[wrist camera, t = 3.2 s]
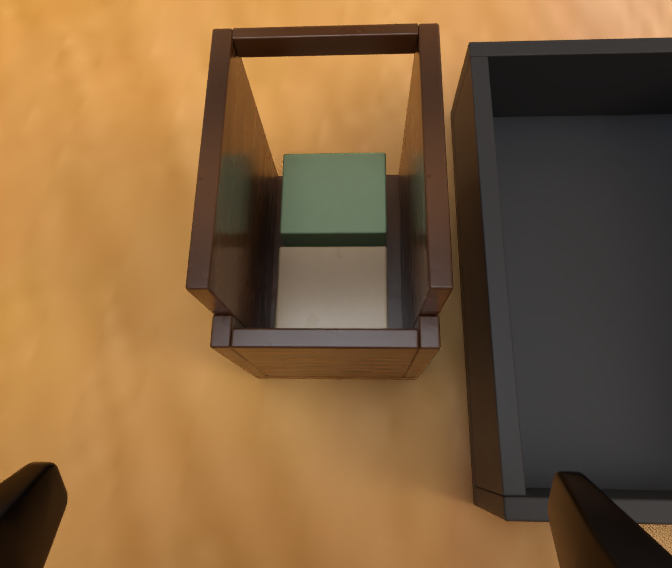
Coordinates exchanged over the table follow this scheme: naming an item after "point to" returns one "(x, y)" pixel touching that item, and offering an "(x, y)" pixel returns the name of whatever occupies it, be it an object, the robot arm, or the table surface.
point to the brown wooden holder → (265, 211)
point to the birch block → (332, 287)
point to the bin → (567, 270)
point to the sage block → (334, 200)
